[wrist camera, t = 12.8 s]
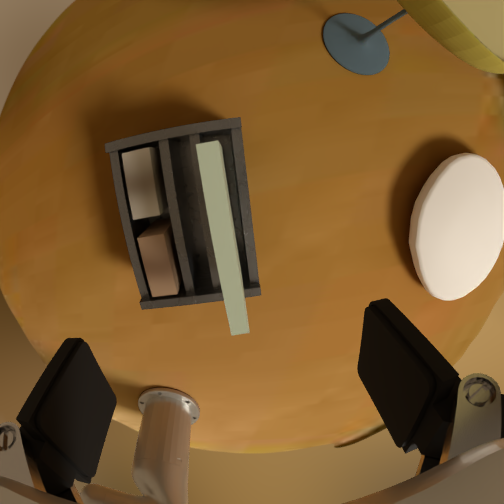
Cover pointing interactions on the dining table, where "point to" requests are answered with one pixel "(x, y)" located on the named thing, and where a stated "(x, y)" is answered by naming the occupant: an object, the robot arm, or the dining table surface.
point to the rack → (189, 209)
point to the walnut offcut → (160, 258)
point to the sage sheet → (223, 233)
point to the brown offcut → (145, 182)
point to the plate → (457, 226)
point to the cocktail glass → (434, 23)
